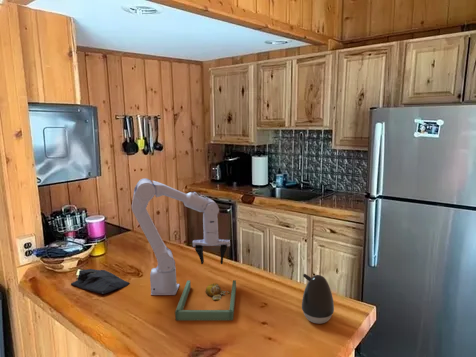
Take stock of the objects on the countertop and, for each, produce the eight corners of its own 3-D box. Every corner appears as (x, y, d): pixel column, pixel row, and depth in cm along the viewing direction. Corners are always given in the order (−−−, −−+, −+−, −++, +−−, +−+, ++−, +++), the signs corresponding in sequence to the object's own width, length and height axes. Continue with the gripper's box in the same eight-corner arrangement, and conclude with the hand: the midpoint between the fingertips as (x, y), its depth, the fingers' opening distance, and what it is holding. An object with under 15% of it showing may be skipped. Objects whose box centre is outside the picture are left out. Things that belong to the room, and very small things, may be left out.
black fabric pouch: (98, 301, 131) (97, 289, 130) (68, 284, 144) (67, 273, 143) (133, 284, 143) (132, 273, 142) (102, 271, 156) (101, 260, 155)
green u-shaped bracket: (175, 320, 117) (175, 312, 116) (187, 287, 138) (187, 280, 138) (233, 320, 116) (232, 312, 115) (236, 287, 137) (235, 280, 137)
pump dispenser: (310, 306, 123) (310, 265, 120) (338, 317, 116) (340, 274, 113) (295, 320, 115) (295, 277, 112) (324, 332, 108) (325, 286, 105)
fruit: (217, 302, 127) (217, 293, 126) (200, 296, 132) (199, 287, 131) (231, 293, 134) (231, 284, 133) (214, 287, 139) (214, 278, 138)
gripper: (230, 226, 141) (231, 258, 144) (194, 227, 142) (195, 258, 144) (228, 232, 134) (229, 266, 137) (190, 233, 135) (192, 266, 137)
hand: (212, 263), depth 140 cm, fingers open, 7 cm apart
